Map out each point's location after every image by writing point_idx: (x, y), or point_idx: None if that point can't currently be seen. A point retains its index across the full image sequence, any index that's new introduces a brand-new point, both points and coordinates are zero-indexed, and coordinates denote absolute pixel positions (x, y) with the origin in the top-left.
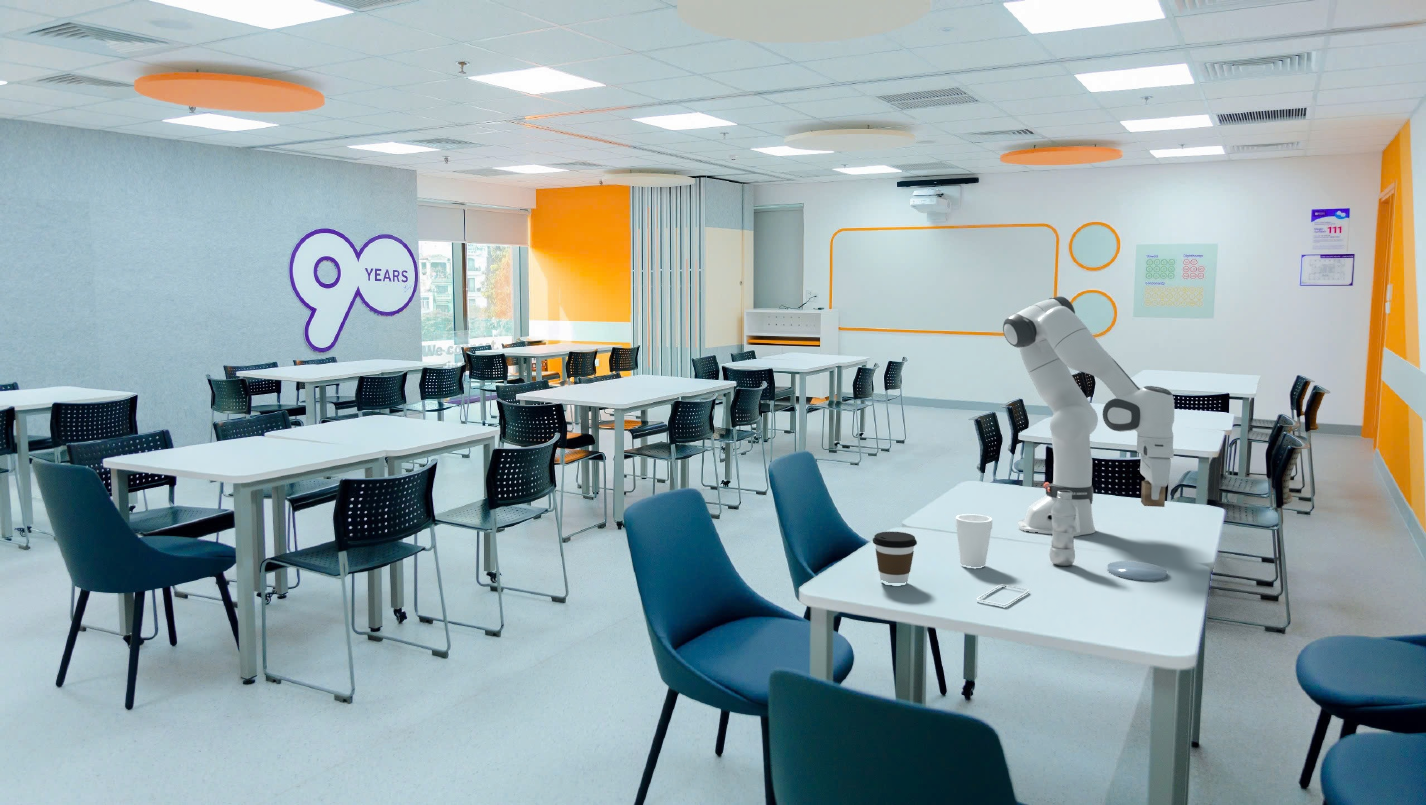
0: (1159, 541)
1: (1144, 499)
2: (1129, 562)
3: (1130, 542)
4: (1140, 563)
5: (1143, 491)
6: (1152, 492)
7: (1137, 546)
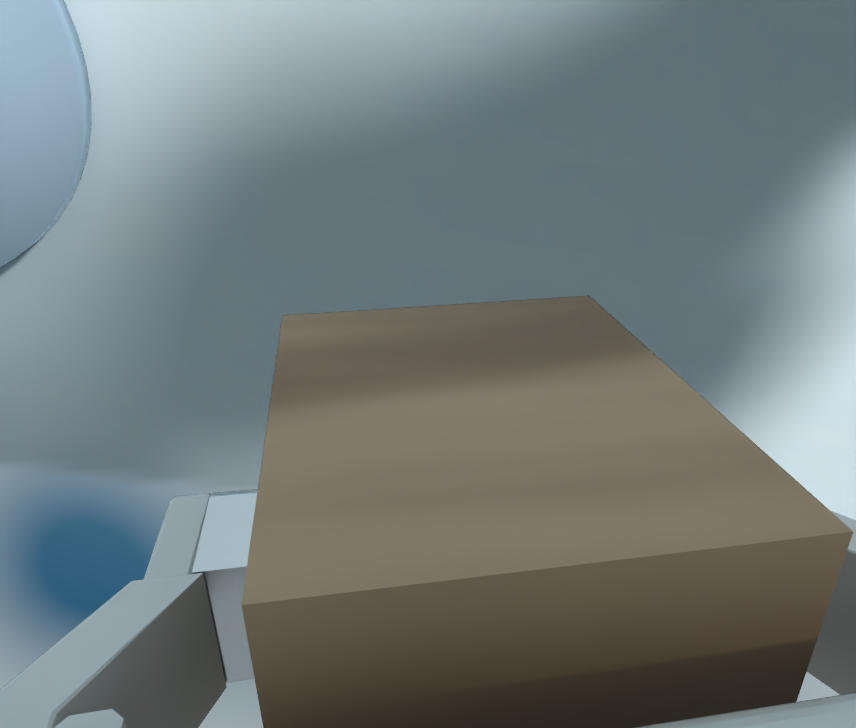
0: (817, 337)
1: (289, 361)
2: (17, 31)
3: (793, 152)
4: (30, 125)
5: (453, 416)
6: (113, 601)
7: (687, 187)
